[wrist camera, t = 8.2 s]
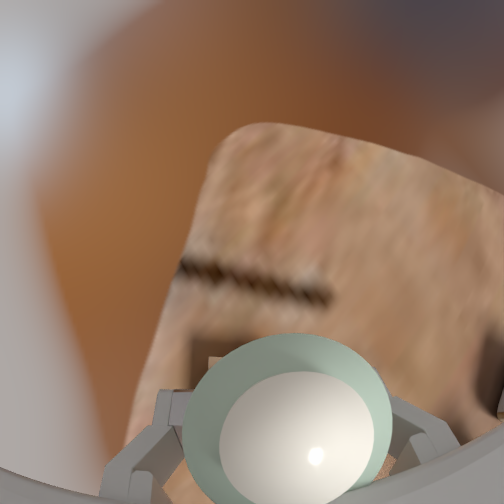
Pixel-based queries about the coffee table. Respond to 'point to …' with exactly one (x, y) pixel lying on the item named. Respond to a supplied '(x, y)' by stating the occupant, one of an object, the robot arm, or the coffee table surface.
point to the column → (287, 423)
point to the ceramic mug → (501, 408)
